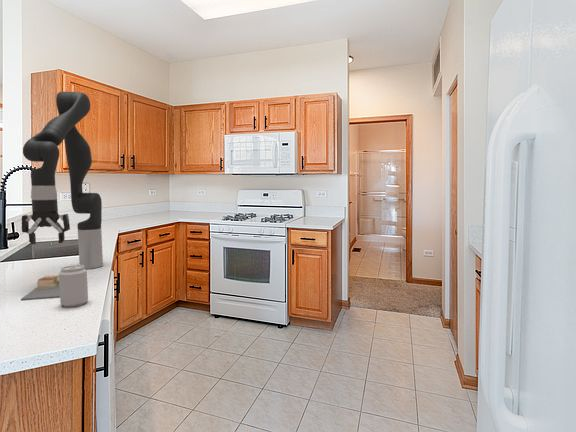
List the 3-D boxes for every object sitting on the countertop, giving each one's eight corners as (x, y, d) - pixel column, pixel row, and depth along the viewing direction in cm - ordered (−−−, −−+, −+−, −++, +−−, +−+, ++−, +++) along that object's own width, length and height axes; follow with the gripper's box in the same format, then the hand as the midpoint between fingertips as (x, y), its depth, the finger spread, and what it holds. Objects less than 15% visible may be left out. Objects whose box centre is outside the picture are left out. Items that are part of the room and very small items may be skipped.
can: (56, 308, 107) (54, 270, 106) (65, 300, 114) (63, 264, 113) (84, 306, 109) (82, 268, 108) (91, 298, 116) (89, 263, 115)
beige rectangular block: (46, 283, 132) (45, 274, 131) (60, 282, 133) (59, 273, 133) (37, 289, 124) (36, 280, 124) (52, 288, 125) (51, 279, 125)
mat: (44, 283, 133) (44, 281, 133) (85, 280, 137) (85, 279, 137) (21, 300, 114) (20, 298, 114) (70, 296, 118) (69, 295, 118)
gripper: (70, 197, 131) (72, 240, 133) (25, 198, 127) (28, 242, 129) (63, 198, 124) (66, 244, 125) (16, 199, 120) (19, 246, 121)
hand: (47, 243), depth 127 cm, fingers open, 8 cm apart
